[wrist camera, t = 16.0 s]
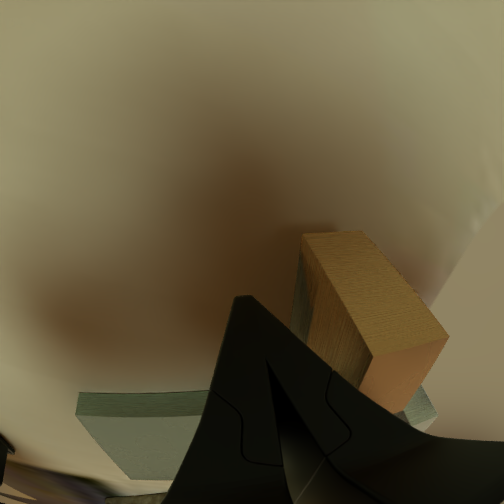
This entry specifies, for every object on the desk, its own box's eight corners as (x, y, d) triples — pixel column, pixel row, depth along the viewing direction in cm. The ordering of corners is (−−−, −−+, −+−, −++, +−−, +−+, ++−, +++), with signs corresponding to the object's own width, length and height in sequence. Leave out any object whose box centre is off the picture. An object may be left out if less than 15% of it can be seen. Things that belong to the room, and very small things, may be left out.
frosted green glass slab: (130, 463, 20) (131, 511, 17) (79, 392, 15) (68, 464, 11) (361, 434, 23) (378, 476, 20) (409, 355, 18) (442, 411, 14)
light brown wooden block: (263, 473, 20) (276, 526, 16) (301, 233, 9) (373, 356, 5) (289, 469, 20) (303, 520, 17) (362, 230, 10) (449, 336, 6)
